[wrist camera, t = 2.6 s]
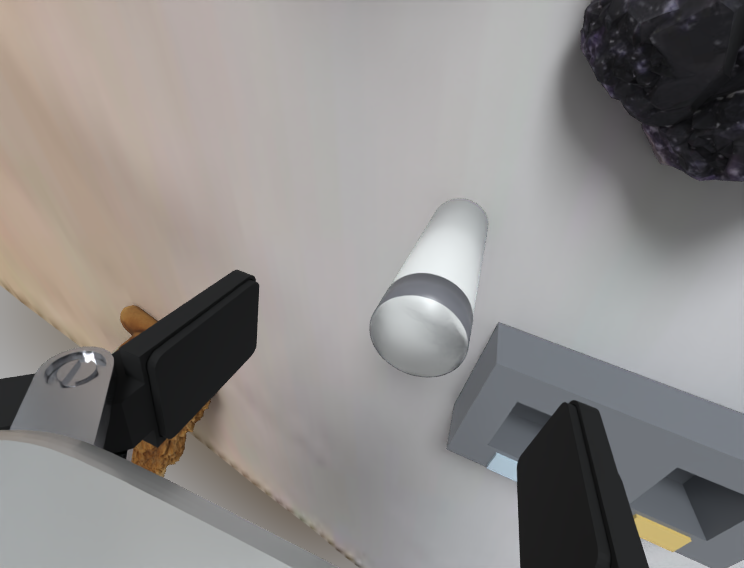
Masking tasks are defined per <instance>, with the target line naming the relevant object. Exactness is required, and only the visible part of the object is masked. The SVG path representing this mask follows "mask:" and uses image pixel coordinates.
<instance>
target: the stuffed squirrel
mask: <svg viewBox="0 0 744 568" xmlns="http://www.w3.org/2000/svg"><path fill="white" fill-rule="evenodd" d="M120 320H121V323H122V325H123V327H124V328H125V329H126V330H127V331H128V332H129V333H130V334H131V335H132V337H131V338H129V339H128V340H127V341H126V342H124V343H123V344H122V345H124V344H125V343H127V342H128V341H130V340H131V339H133V338H134V337H136V336H137V335H139V334H140V333H142V332H143V331H145V330H146V329H148V328H149V327H151V326H152V325H154V324H155V323H157V321H156V320H155V319H154V318H153V317H151V316H150V315H149V314H147V313H146V312H144V311H143V310H142V309H140V308H139V307H137V306H134V305H132V306H128V307H125V308H124V309H123V310H122V312H121V316H120ZM122 345H121V346H122ZM121 346H119V347H121ZM119 347H118V348H117V349H116V350H115V351H114V352H116V351H117V350H118V349H119ZM114 352H113V353H114ZM113 353H112V354H113ZM210 400H211V399H210ZM210 400H209V401H208V402H207V403H206V404H205V405H204V406H203V408H202V409H201V410H200V411H199V412H198V413H197V414H196V415H195V416H194V417H193V418H192V419H191V420H190V421H189V422H188V423H187V424H186V426H185V427H184V428H183V429H182V430H181V431H180V432H179V433H178V434H177V435H176V436H175V437H173V438H172V439H166V440H165V441H164V442H163V443H162V444H161V445H160V446H159V447H158V448H157V447H155V446H153V445H151V444H149V443H147V442H145V441H143V440H142V441H141V442H140V443H139V444H138V445H137V446H136V447H135V448H133V454H132V460H131V462H132V463H134V464H136V465H138V466H140V467H142V468H144V469H146V470H149V471H151V472H153V473H155V474H157V475H159V476H161V477H164V474H165V472H166V467H167V466H168V465H170V464H171V465H172V464H175V462H176V461H179V458H180V457H181V455H182V454H183V451H184V449H185V446H184V445H185V441H186V433H187V432H188V431H190V432H192V431H193V428H194V425H195V424H194V423H196V422H197V421H198V420H200V418H202V416H203V413H204V410H205V409H208V406H209V404H210V402H211V401H210Z"/></svg>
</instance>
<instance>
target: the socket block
mask: <svg viewBox="0 0 744 568" xmlns="http://www.w3.org/2000/svg"><path fill="white" fill-rule="evenodd" d="M572 400H576V401H579V402H581V403H584V404H587V405H589V406H592V407H594V408H597V409H598V410H599V412H600V415H601V418H602V421H603V425H604V428H605V431H606V434H607V438H608V441H609V444H610V448H611V451H612V454H613V457H614V461H615V464H616V467H617V471H618V474H619V475H620V477H621V480H622V482H623V485H624V488H625V492H626V495H627V498H628V501H629V505H630V508H631V511H632V514H633V518H634V521H635V524H636V527H637V531H638V534H639V537H640V538H642V539H645V540H647V541H649V542H651V543H654V544H656V545H658V546H660V547H662V548H665V549H667V550H669V551H671V552H677V553H679V554H681V555H683V556H685V557H688V558H690V559H692V560H694V561H697V562H699V563H701V564H703V565H706V566H708V567H710V568H728V567H730V566H732V565H734V564H736V563H738V562H740V561H742V560H744V414H742V413H740V412H737V411H734V410H732V409H729V408H726V407H724V406H721V405H718V404H716V403H713V402H710V401H708V400H705V399H702V398H700V397H697V396H694V395H692V394H689V393H686V392H684V391H681V390H678V389H676V388H673V387H670V386H668V385H665V384H662V383H660V382H657V381H654V380H652V379H649V378H646V377H644V376H641V375H638V374H636V373H633V372H630V371H627V370H625V369H622V368H619V367H617V366H614V365H611V364H609V363H606V362H603V361H601V360H598V359H595V358H593V357H590V356H587V355H585V354H582V353H579V352H577V351H574V350H571V349H569V348H566V347H563V346H561V345H558V344H555V343H553V342H550V341H547V340H545V339H542V338H539V337H537V336H534V335H531V334H529V333H526V332H523V331H521V330H518V329H515V328H513V327H510V326H507V325H505V324H502V323H498V325H497V327H496V328H495V330H494V332H493V334H492V336H491V338H490V340H489V341H488V343H487V345H486V347H485V349H484V351H483V353H482V354H481V356H480V358H479V360H478V362H477V364H476V366H475V367H474V369H473V371H472V373H471V375H470V377H469V379H468V380H467V382H466V384H465V386H464V388H463V390H462V392H461V393H460V395H459V397H458V399H457V401H456V403H455V405H454V409H453V415H452V420H451V426H450V432H449V437H448V443H447V448H446V449H447V450H450V451H452V452H454V453H456V454H458V455H461V456H463V457H465V458H467V459H470V460H472V461H474V462H476V463H479V464H481V465H483V466H485V467H487V469H489V470H491V471H494V472H496V473H498V474H500V475H502V476H505V477H507V478H509V479H511V480H514V481H516V482H517V463H518V460H519V457H520V456H521V454H522V453H523V452H524V451H525V449H526V448H527V447H528V445H529V444H530V443H531V442H532V440H533V439H534V438H535V437H536V435H537V434H538V433H539V431H540V430H541V429H542V428H543V426H544V425H545V424H546V423H547V421H548V420H549V419H550V418H551V416H552V415H553V414H554V412H555V411H556V410H557V409H558V407H559V406H560V405H561V404H562V403H563V402H566V403H569V402H570V401H572Z"/></svg>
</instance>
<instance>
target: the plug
mask: <svg viewBox="0 0 744 568" xmlns="http://www.w3.org/2000/svg"><path fill="white" fill-rule="evenodd" d="M487 231H488V219H487V216H486V214H485V212H484V210H483V209H482V208H481V207H480V206H479V205H478V204H477V203H475V202H473V201H471V200H468V199H452V200H449V201H447V202H445V203H444V204H442V205H441V206H440V207H439V208H438V209H437V210H436V212H435V214H434V215H433V217H432V219H431V220H430V222H429V223H428V225H427V227H426V228H425V230H424V232H423V233H422V235H421V237H420V238H419V240H418V242H417V243H416V245H415V247H414V248H413V250H412V251H411V253H410V255H409V256H408V258H407V260H406V261H405V263H404V265H403V266H402V268H401V270H400V271H399V273H398V275H397V276H396V278H395V279H394V281H393V283H392V284H391V286H390V287H389V288H388V290H387V292H386V293H385V295H384V296H383V298H382V300H381V301H380V303H379V305H378V306H377V308H376V310H375V311H374V313H373V315H372V317H371V320H370V336H371V340H372V342H373V345H374V347H375V348H376V350H377V351H378V353H379V354H380V355H381V356H382V358H383V359H384V360H386V361H387V362H388V363H389V364H390V365H392V366H393V367H395V368H397V369H398V370H400V371H402V372H405V373H407V374H410V375H414V376H419V377H437V376H442V375H445V374H447V373H450V372H452V371H453V370H455V369H456V368H457V367H459V366H460V364H461V363H462V362H463V361H464V359H465V357H466V355H467V351H468V346H469V341H470V335H471V329H472V323H473V313H474V307H475V301H476V295H477V290H478V284H479V278H480V272H481V266H482V260H483V254H484V248H485V243H486V237H487Z"/></svg>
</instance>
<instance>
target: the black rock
mask: <svg viewBox="0 0 744 568" xmlns="http://www.w3.org/2000/svg"><path fill="white" fill-rule="evenodd" d="M581 50H582V52H583V54H584V55H585V57H586V58H587V60H588V62H589V64H590V66H591V68H592V69H593V71H594V73H595V75H596V78H597V80H598V81H599V82H601V84H602V85H603V87H604V88H605V89H606V90H607V91H608V93H609V95H610V96H611V98H614V99H618V100H621V102H622V104H623V106H624V108H625V109H626V110H627V111H628V113H629V114H630V115H631V116H633V117H634V118H636V119H638V120H639V121H641V122H642V129H643V131H644V132H645V134H646V136H647V138H648V140H649V142H650V145H651V147H652V149H653V152H654V155H655V156H656V158H657V159H658V161H659V162H660V164H664V165H669V166H673V167H675V168H677V169H679V170H682V171H684V172H685V173H686V174H688V175H689V176H691V177H693V178H695V179H697V180H699V181H705V180H715V179H716V180H724V181H744V0H592V2H591V4H590V5H589V6H588V7H587V8H586V10H585V14H584V24H583V28H582V30H581Z"/></svg>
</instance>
